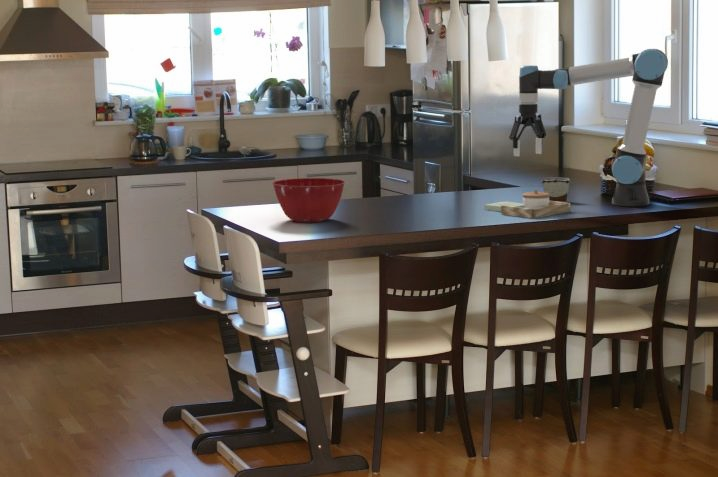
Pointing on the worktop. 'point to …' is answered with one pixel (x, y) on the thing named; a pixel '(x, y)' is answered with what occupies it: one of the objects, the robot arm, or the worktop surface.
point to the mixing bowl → (309, 198)
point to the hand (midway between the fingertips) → (527, 155)
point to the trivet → (498, 205)
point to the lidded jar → (535, 199)
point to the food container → (556, 188)
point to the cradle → (537, 210)
